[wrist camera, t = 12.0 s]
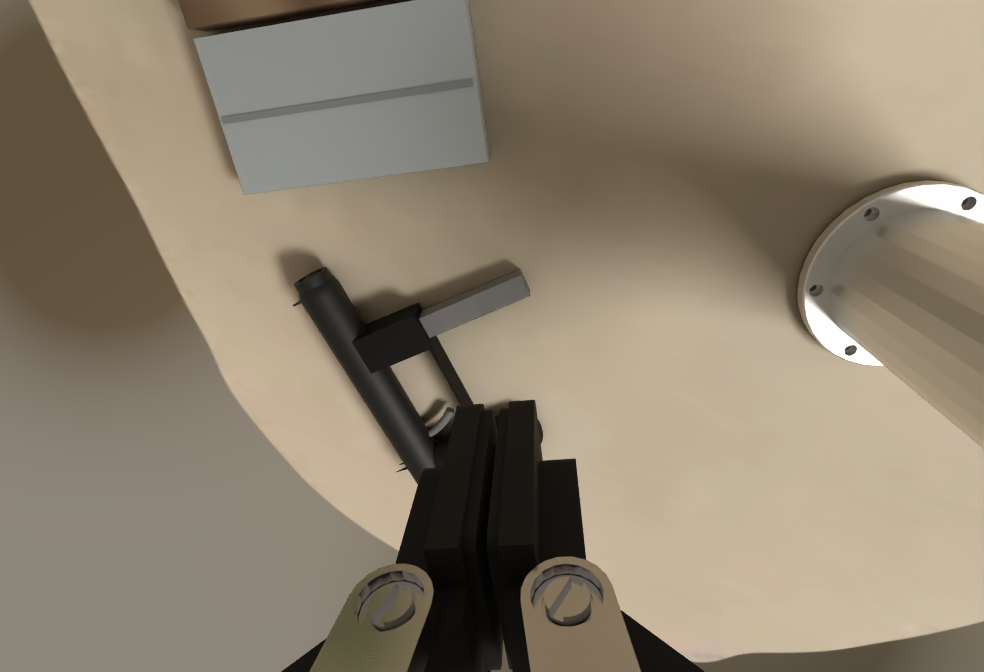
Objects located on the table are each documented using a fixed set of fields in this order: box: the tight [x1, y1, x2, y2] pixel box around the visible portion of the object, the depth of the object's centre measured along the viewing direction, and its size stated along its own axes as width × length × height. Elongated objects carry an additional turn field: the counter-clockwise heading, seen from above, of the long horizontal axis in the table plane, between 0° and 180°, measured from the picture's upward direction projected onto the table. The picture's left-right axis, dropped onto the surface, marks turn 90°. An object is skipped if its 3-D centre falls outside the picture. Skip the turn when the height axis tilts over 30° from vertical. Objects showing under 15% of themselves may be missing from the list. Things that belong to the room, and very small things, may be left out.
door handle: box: [293, 267, 543, 484], centre depth 41 cm, size 3×20×16 cm
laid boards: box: [193, 0, 490, 195], centre depth 33 cm, size 16×9×2 cm, turn 98°
